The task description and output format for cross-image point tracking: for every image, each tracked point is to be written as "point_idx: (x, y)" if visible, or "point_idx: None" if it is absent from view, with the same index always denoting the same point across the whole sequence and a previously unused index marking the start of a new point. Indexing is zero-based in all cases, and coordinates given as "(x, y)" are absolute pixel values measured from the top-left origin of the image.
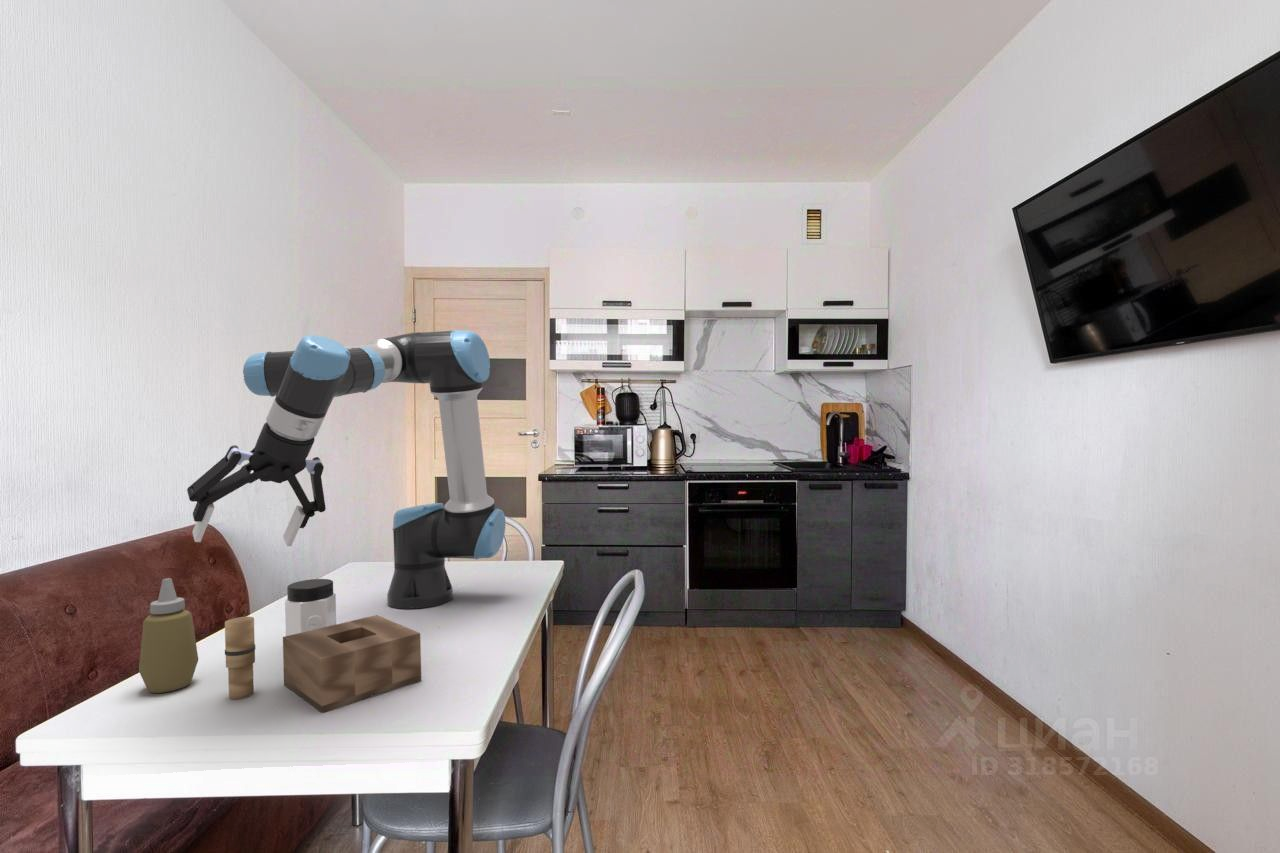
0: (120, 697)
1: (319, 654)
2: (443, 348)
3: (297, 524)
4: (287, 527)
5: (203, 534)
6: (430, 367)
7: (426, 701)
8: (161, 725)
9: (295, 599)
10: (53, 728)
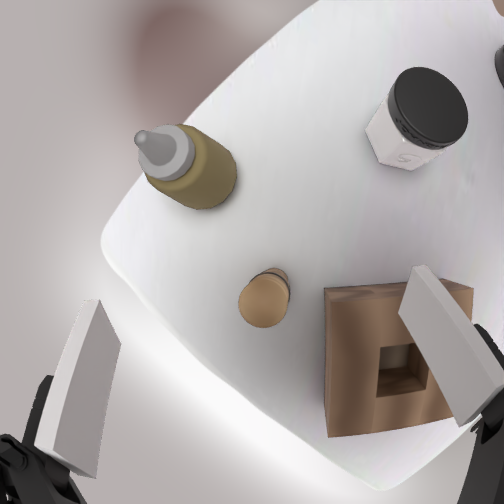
0: None
1: (335, 420)
2: None
3: (443, 388)
4: (435, 300)
5: (114, 370)
6: None
7: (401, 436)
8: (188, 310)
9: (398, 127)
10: (112, 231)
